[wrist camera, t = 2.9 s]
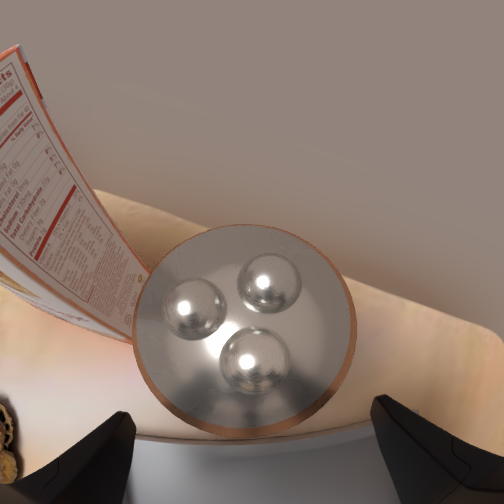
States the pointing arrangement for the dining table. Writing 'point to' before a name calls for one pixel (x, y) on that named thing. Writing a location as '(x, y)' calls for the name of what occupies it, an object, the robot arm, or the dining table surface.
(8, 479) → the decorative rock
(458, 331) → the dining table surface
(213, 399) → the copper cylinder
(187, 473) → the gray tray
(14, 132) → the cracker box
